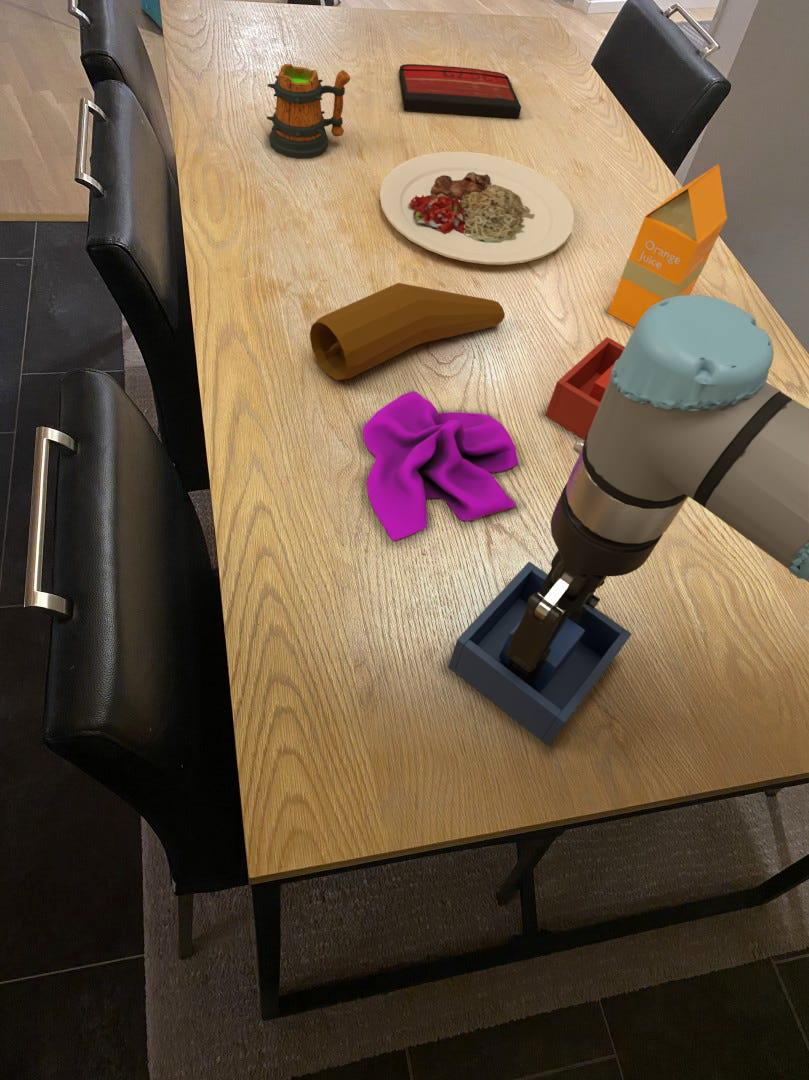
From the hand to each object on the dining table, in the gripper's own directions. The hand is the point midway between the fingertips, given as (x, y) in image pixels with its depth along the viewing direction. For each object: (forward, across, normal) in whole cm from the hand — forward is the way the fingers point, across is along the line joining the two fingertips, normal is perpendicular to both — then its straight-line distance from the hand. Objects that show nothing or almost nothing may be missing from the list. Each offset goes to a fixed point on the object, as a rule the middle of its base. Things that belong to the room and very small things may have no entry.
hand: (535, 655), depth 72 cm
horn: (+2, -27, -38) cm, 47 cm away
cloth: (+2, -13, -22) cm, 26 cm away
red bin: (+2, -35, -12) cm, 37 cm away
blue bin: (+2, 0, 0) cm, 2 cm away
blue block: (0, 0, 0) cm, 0 cm away
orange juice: (+2, -57, -19) cm, 60 cm away
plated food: (+2, -58, -50) cm, 77 cm away
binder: (+2, -87, -76) cm, 116 cm away
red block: (+1, -35, -12) cm, 37 cm away
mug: (+2, -53, -81) cm, 97 cm away
